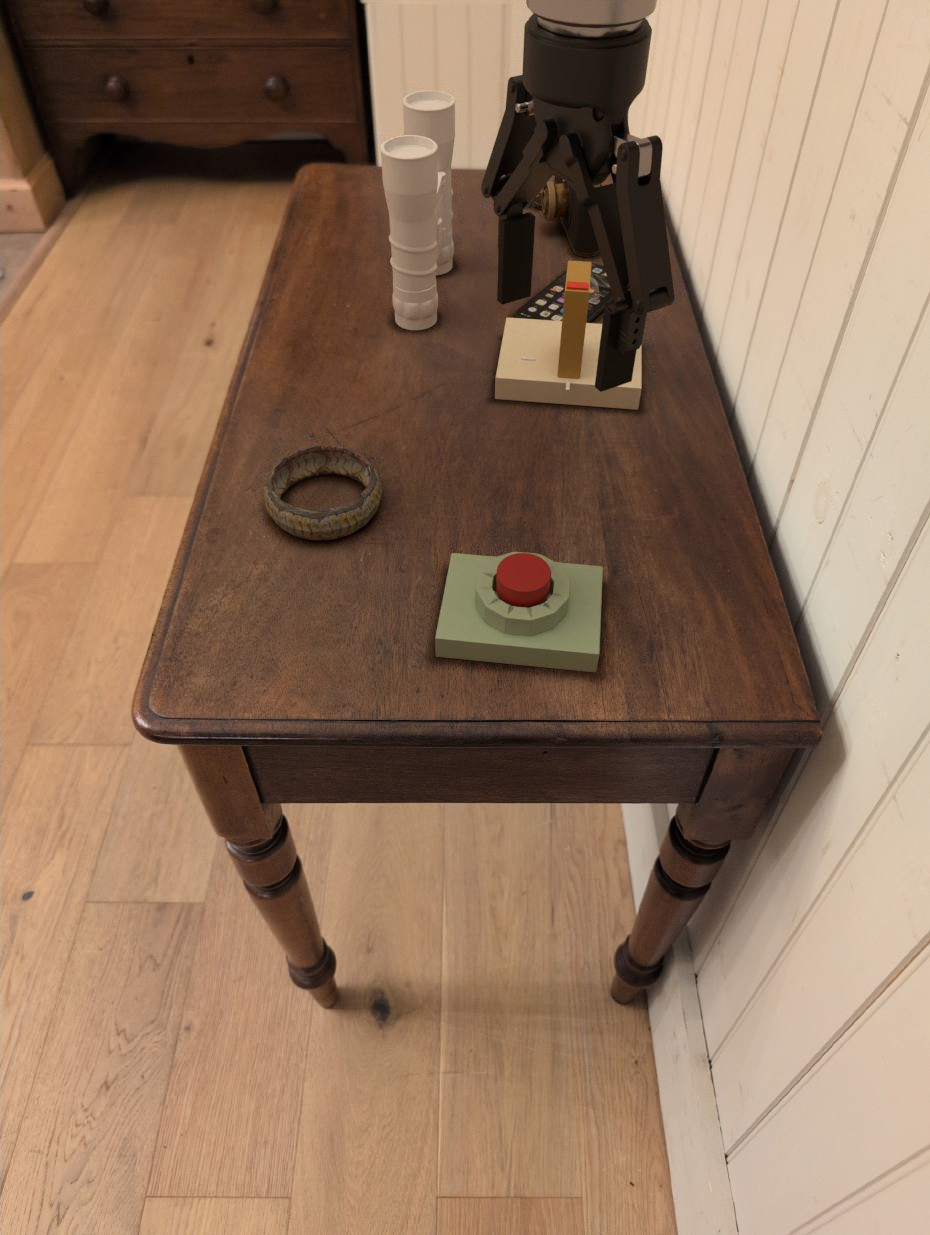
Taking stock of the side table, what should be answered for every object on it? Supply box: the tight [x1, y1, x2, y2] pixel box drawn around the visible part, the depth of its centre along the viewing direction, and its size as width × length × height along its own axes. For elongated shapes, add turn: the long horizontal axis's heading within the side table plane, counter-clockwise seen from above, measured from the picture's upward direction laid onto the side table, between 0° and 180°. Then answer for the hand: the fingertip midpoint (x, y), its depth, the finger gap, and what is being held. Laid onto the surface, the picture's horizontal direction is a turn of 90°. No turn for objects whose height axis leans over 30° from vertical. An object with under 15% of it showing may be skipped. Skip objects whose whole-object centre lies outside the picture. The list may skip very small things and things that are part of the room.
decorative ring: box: [263, 444, 383, 541], centre depth 79 cm, size 10×3×10 cm
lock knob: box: [557, 260, 593, 378], centre depth 87 cm, size 6×2×9 cm, turn 173°
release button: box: [496, 552, 551, 607], centre depth 68 cm, size 4×4×2 cm
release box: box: [434, 551, 604, 673], centre depth 70 cm, size 12×9×4 cm
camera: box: [533, 176, 603, 258], centre depth 112 cm, size 16×7×8 cm, turn 7°
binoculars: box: [379, 89, 456, 331], centre depth 97 cm, size 17×5×18 cm, turn 172°
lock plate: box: [494, 317, 643, 411], centre depth 92 cm, size 14×12×3 cm
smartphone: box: [514, 260, 630, 323], centre depth 102 cm, size 7×1×15 cm
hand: (560, 339), depth 70 cm, fingers open, 13 cm apart
